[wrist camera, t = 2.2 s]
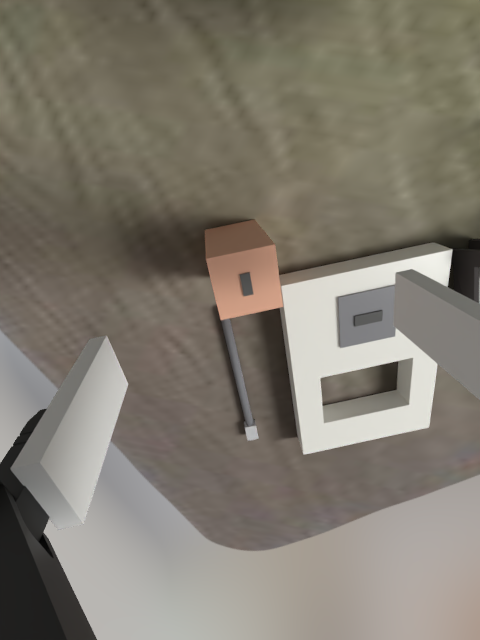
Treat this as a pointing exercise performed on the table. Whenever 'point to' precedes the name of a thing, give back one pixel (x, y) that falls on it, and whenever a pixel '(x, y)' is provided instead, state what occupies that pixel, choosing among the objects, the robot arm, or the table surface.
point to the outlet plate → (356, 346)
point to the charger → (243, 269)
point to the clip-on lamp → (467, 270)
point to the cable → (239, 380)
